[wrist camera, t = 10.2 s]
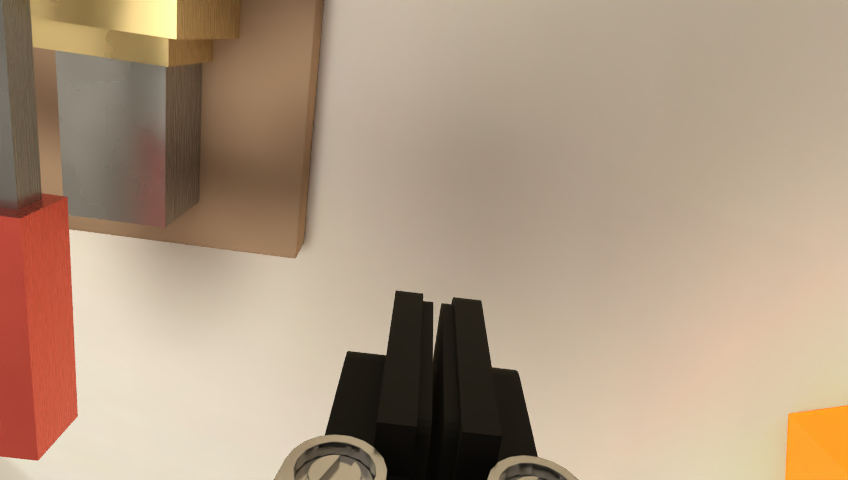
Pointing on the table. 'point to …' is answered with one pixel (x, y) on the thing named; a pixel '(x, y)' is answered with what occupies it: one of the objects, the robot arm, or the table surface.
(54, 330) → the lever
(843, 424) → the orange juice
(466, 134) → the table surface
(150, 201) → the valve
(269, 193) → the board
